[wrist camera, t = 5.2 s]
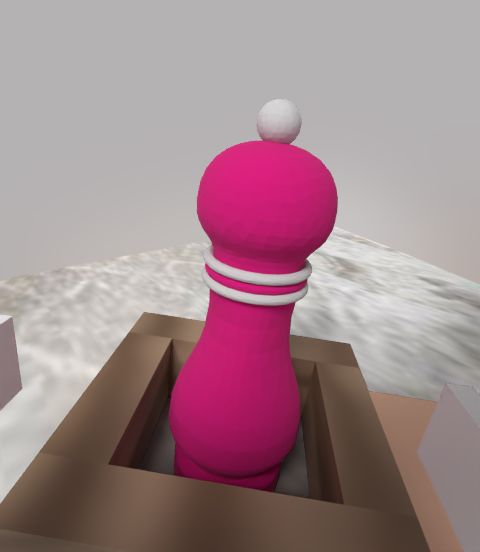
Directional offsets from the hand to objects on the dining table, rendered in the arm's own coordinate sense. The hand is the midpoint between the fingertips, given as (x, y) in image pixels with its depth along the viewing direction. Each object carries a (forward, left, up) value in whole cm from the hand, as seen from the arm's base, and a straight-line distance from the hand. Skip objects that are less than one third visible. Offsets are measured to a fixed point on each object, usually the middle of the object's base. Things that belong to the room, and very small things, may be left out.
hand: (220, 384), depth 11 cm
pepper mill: (-1, -7, -12) cm, 13 cm away
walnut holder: (-1, -7, -11) cm, 13 cm away
